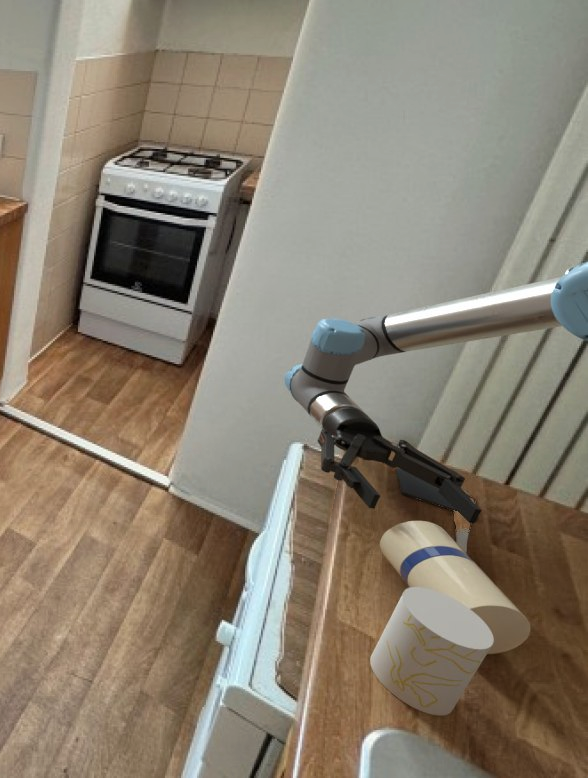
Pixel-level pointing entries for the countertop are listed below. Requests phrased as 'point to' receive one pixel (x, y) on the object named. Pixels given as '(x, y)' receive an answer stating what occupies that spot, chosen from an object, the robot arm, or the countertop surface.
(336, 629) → the countertop surface
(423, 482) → the mat
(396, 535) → the blue-striped cream cylinder
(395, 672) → the cup
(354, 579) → the countertop surface
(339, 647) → the countertop surface
